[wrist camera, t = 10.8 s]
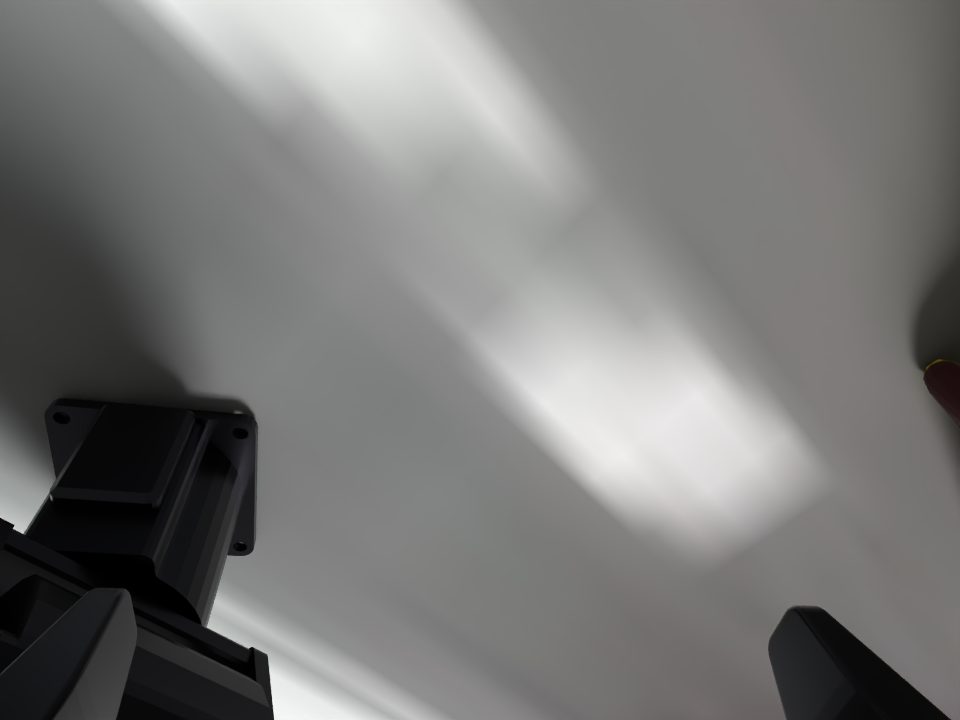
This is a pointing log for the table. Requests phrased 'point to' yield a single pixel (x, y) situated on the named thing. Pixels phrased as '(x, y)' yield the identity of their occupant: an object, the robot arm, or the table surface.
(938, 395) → the decorative lantern
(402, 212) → the table surface
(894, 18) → the table surface
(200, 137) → the table surface
